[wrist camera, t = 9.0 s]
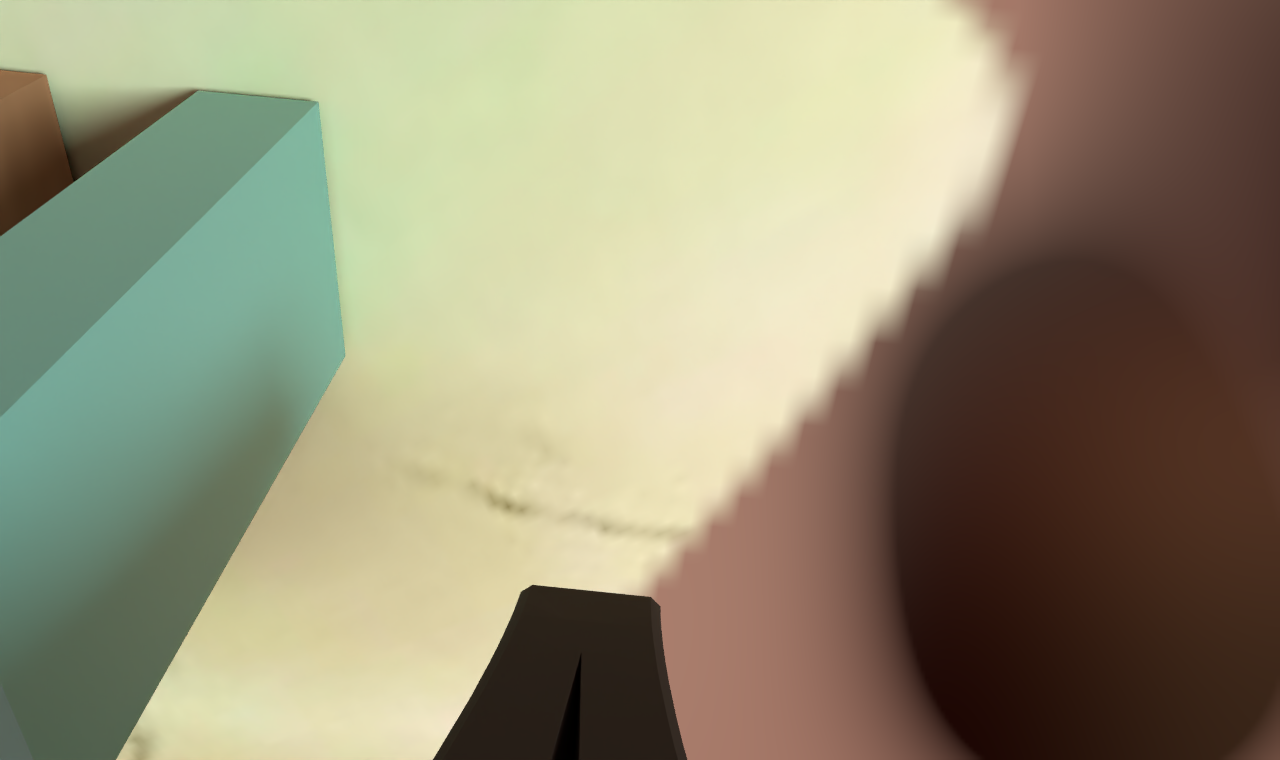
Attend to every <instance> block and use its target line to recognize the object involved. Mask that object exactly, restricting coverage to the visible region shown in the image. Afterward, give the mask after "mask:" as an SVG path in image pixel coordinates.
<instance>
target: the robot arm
mask: <svg viewBox="0 0 1280 760" xmlns="http://www.w3.org/2000/svg"><path fill="white" fill-rule="evenodd" d="M433 760H687V757H686V754H685V750H684V747H683V743H682V739H681V735H680V731H679V726H678V723H677V718H676V714H675V709H674V704H673V700H672V695H671V690H670V685H669V681H668V675H667V669H666V663H665V656H664V649H663V641H662V631H661V618H660V606H659V605H658V604H657V603H656V602H655V601H654V600H653V599H652V598H651V597H645V596H635V595H625V594H616V593H606V592H596V591H586V590H577V589H567V588H557V587H547V586H538V585H532V586H530V587H528V588H527V589H525V590H523V591H522V592H521V594H520V596H519V599H518V602H517V604H516V607H515V610H514V612H513V614H512V617H511V619H510V621H509V623H508V626H507V628H506V630H505V632H504V634H503V637H502V639H501V641H500V643H499V645H498V647H497V649H496V651H495V653H494V655H493V657H492V659H491V661H490V663H489V665H488V666H487V668H486V670H485V672H484V674H483V676H482V677H481V679H480V681H479V683H478V685H477V687H476V688H475V690H474V692H473V694H472V696H471V698H470V699H469V701H468V703H467V704H466V706H465V708H464V709H463V711H462V713H461V714H460V716H459V718H458V719H457V721H456V723H455V724H454V726H453V728H452V729H451V731H450V732H449V734H448V736H447V737H446V739H445V741H444V742H443V744H442V746H441V747H440V749H439V751H438V752H437V754H436V756H435V757H434V759H433Z"/></svg>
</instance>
